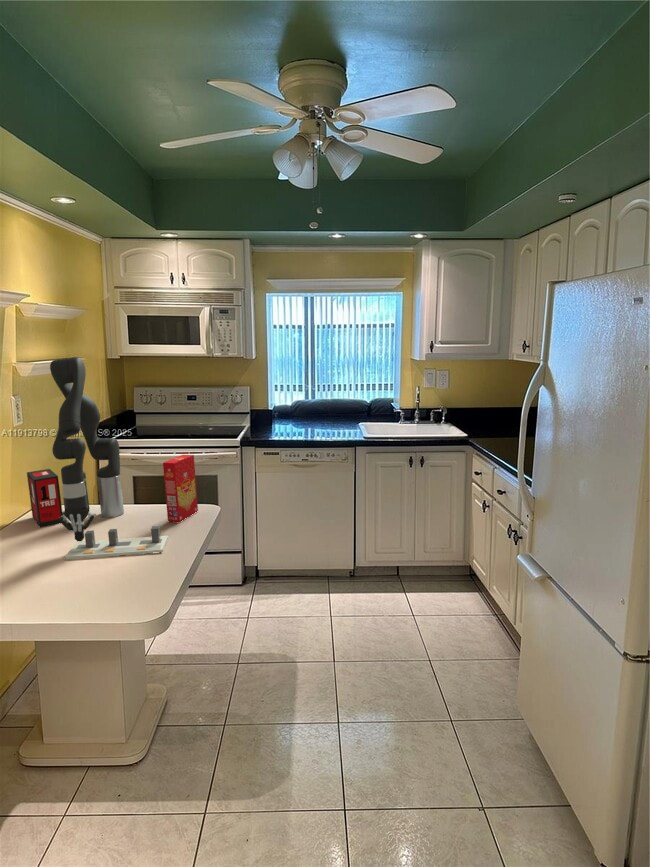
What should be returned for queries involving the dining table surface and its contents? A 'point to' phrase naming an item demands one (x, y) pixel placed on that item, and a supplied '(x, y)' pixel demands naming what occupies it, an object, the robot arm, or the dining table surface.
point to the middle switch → (113, 536)
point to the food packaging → (180, 487)
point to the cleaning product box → (45, 497)
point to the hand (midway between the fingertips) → (79, 540)
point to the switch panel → (116, 548)
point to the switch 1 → (89, 538)
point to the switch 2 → (155, 533)
